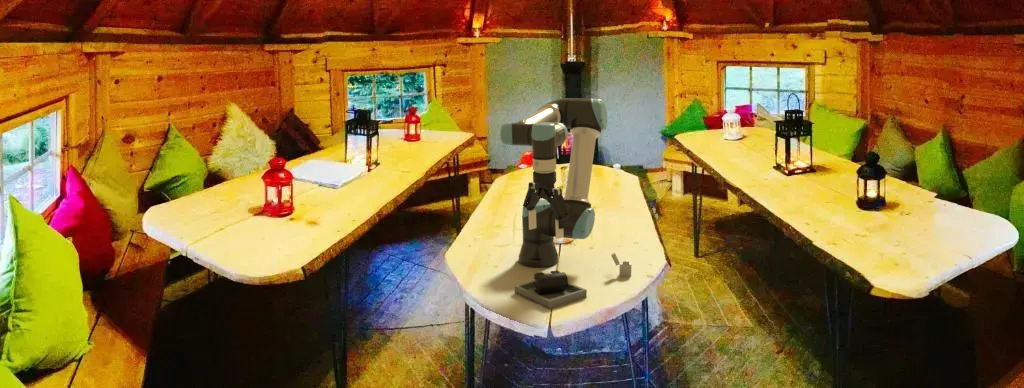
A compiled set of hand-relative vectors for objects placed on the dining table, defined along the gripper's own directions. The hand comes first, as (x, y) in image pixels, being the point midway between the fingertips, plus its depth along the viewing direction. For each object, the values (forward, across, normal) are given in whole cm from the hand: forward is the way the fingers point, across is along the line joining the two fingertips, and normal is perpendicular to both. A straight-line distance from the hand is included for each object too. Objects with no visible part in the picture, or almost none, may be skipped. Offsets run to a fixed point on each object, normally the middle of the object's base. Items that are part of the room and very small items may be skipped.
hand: (545, 233), depth 235 cm
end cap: (+20, +4, -2) cm, 20 cm away
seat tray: (+20, +4, -2) cm, 21 cm away
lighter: (+21, +6, +30) cm, 37 cm away
